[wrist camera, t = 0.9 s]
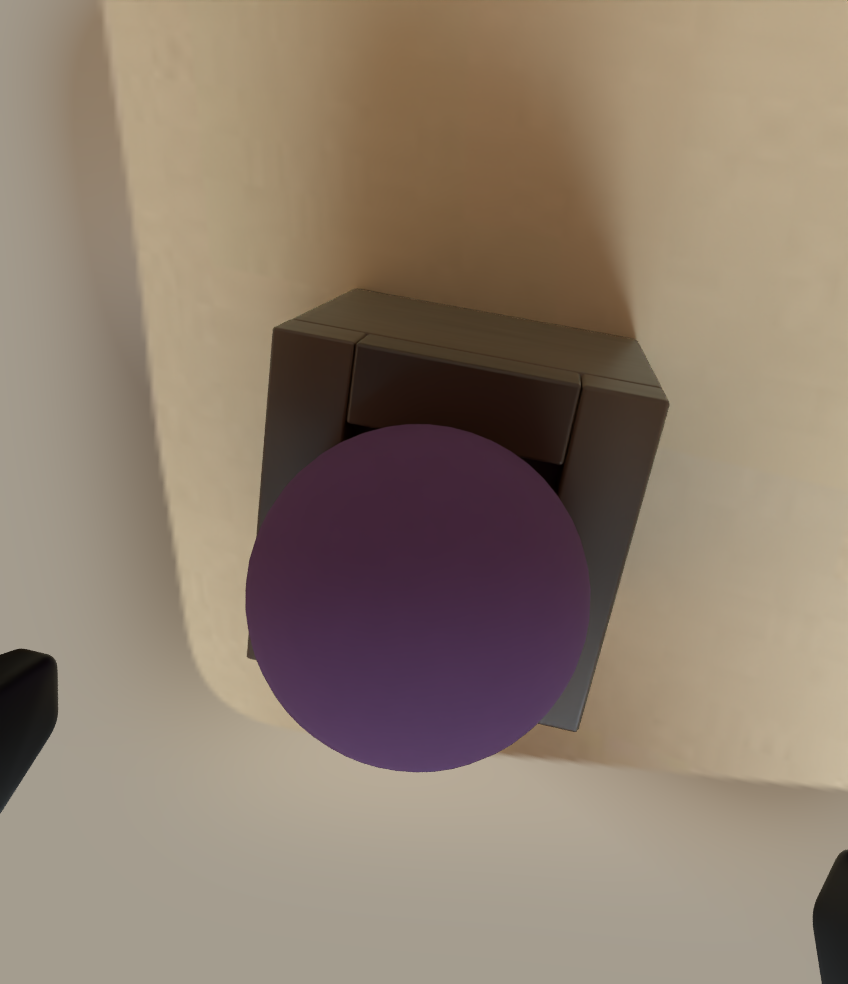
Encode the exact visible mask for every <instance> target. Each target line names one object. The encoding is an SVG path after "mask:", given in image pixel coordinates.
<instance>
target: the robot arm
mask: <svg viewBox="0 0 848 984" xmlns="http://www.w3.org/2000/svg"><path fill="white" fill-rule="evenodd" d="M57 716H58V673H57V663H56V661H55V659H54V658H53V657H52V656H50V655H48V654H44V653H39V652H36V651H31V650H27V649H16V650H13V651H10V652H7V653H4V654H1V655H0V813H1V812H2V810H3V809H4V807H5V806H6V804H7V802H8V801H9V799H10V797H11V796H12V794H13V793H14V791H15V790H16V788H17V787H18V785H19V784H20V782H21V781H22V779H23V777H24V776H25V774H26V773H27V771H28V769H29V768H30V766H31V765H32V763H33V762H34V760H35V759H36V757H37V756H38V754H39V752H40V751H41V749H42V748H43V746H44V744H45V743H46V741H47V740H48V738H49V737H50V735H51V733H52V731H53V729H54V727H55V724H56V721H57ZM813 930H814V936H815V942H816V949H817V955H818V961H819V968H820V975H821V981H822V984H848V850H844V851H842V852H841V853H840V854H839V855H838V857H837V858H836V860H835V862H834V864H833V866H832V868H831V870H830V872H829V875H828V877H827V879H826V881H825V883H824V885H823V887H822V889H821V892H820V893H819V895H818V897H817V899H816V902H815V906H814V910H813Z"/></svg>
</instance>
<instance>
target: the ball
mask: <svg viewBox="0 0 848 984" xmlns="http://www.w3.org/2000/svg"><path fill="white" fill-rule="evenodd" d="M590 591H591V589H590V580H589V572H588V566H587V562H586V558H585V554H584V550H583V546H582V543H581V539H580V537H579V534H578V532H577V530H576V527H575V525H574V523H573V520H572V518H571V517H570V515H569V513H568V512H567V510H566V508H565V507H564V505H563V503H562V502H561V500H560V499H559V497H558V496H557V494H556V493H555V492H554V491H553V489H552V488H551V487H550V486H549V484H548V483H547V482H546V481H545V479H544V478H543V477H542V476H540V475H539V474H538V473H537V472H536V471H535V470H534V469H533V468H532V467H531V466H530V465H529V464H528V463H526V462H525V461H524V460H522V459H521V458H519V457H518V456H517V455H515V454H514V453H513V452H511V451H510V450H508V449H506V448H504V447H502V446H501V445H499V444H497V443H495V442H493V441H491V440H489V439H486V438H484V437H481V436H479V435H476V434H474V433H471V432H467V431H463V430H460V429H456V428H452V427H446V426H438V425H431V424H405V425H397V426H390V427H384V428H380V429H377V430H373V431H369V432H366V433H363V434H360V435H357V436H355V437H353V438H350V439H348V440H345V441H343V442H341V443H339V444H337V445H335V446H334V447H332V448H330V449H329V450H327V451H325V452H324V453H322V454H321V455H320V456H318V457H317V458H316V459H315V460H313V461H312V462H311V463H310V464H308V465H307V466H306V467H305V468H303V469H302V470H301V471H300V472H299V473H298V474H297V475H296V476H295V477H294V478H293V479H292V480H291V481H290V482H289V483H288V484H287V486H286V487H285V488H284V489H283V491H282V492H281V494H280V495H279V497H278V498H277V500H276V501H275V502H274V504H273V505H272V507H271V508H270V510H269V511H268V513H267V515H266V517H265V519H264V521H263V523H262V525H261V527H260V529H259V532H258V535H257V538H256V540H255V544H254V547H253V550H252V553H251V557H250V560H249V566H248V573H247V580H246V616H247V624H248V630H249V635H250V640H251V644H252V647H253V651H254V654H255V657H256V660H257V662H258V665H259V667H260V669H261V672H262V674H263V676H264V677H265V679H266V681H267V683H268V685H269V686H270V688H271V690H272V691H273V693H274V695H275V697H276V698H277V699H278V701H279V702H280V703H281V705H282V706H283V707H284V709H285V710H286V711H287V712H288V713H289V715H290V716H291V717H292V718H293V719H294V720H295V721H296V722H297V723H298V724H299V725H300V726H301V727H302V728H304V729H305V730H306V731H307V732H308V733H310V734H311V735H312V736H313V737H315V738H316V739H318V740H319V741H321V742H322V743H324V744H325V745H327V746H328V747H330V748H331V749H333V750H335V751H337V752H339V753H341V754H343V755H344V756H346V757H349V758H352V759H354V760H356V761H359V762H361V763H364V764H368V765H371V766H375V767H378V768H384V769H390V770H395V771H406V772H435V771H441V770H449V769H454V768H458V767H461V766H465V765H469V764H471V763H474V762H476V761H479V760H481V759H484V758H486V757H489V756H491V755H494V754H496V753H498V752H499V751H501V750H503V749H505V748H506V747H508V746H510V745H512V744H513V743H514V742H516V741H517V740H518V739H520V738H521V737H522V736H523V735H525V734H526V733H527V732H528V731H530V730H531V729H532V728H533V727H534V726H535V725H536V724H537V723H538V722H539V721H540V720H541V719H542V718H543V717H544V716H545V715H546V714H547V713H548V712H549V711H550V709H551V708H552V707H553V705H554V704H555V703H556V701H557V700H558V699H559V697H560V696H561V694H562V693H563V691H564V690H565V688H566V687H567V685H568V683H569V681H570V679H571V677H572V675H573V674H574V672H575V669H576V666H577V664H578V661H579V658H580V655H581V652H582V649H583V646H584V644H585V640H586V635H587V630H588V625H589V615H590Z"/></svg>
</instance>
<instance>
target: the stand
mask: <svg viewBox="0 0 848 984" xmlns="http://www.w3.org/2000/svg"><path fill="white" fill-rule="evenodd" d="M668 409H669V401H668V399H667V397H666V395H665V393H664V391H663V390H662V387H661V385H660V383H659V381H658V379H657V377H656V375H655V374H654V372H653V370H652V368H651V366H650V364H649V362H648V360H647V358H646V356H645V354H644V352H643V350H642V349H641V347H640V345H639V343H638V341H637V340H636V339H631V338H626V337H620V336H615V335H609V334H604V333H598V332H593V331H587V330H581V329H576V328H570V327H565V326H559V325H554V324H548V323H543V322H537V321H532V320H526V319H521V318H515V317H510V316H504V315H499V314H493V313H488V312H482V311H477V310H471V309H465V308H460V307H454V306H449V305H443V304H438V303H432V302H427V301H421V300H416V299H410V298H405V297H399V296H394V295H388V294H383V293H377V292H372V291H366V290H360V289H353V290H351V291H349V292H347V293H345V294H343V295H341V296H339V297H337V298H335V299H333V300H331V301H329V302H327V303H325V304H323V305H320V306H318V307H316V308H314V309H312V310H310V311H308V312H306V313H304V314H302V315H300V316H298V317H296V318H294V319H292V320H289V321H287V322H284V323H282V324H280V325H278V326H276V327H274V329H273V335H272V348H271V360H270V373H269V385H268V398H267V410H266V423H265V436H264V448H263V461H262V473H261V486H260V498H259V511H258V524H257V535H258V532H259V529H260V527H261V525H262V523H263V521H264V519H265V517H266V515H267V513H268V511H269V510H270V508H271V507H272V505H273V504H274V502H275V501H276V500H277V498H278V497H279V495H280V494H281V492H282V491H283V489H284V488H285V487H286V486H287V484H288V483H289V482H290V481H291V480H292V479H293V478H294V477H295V476H296V475H297V474H298V473H299V472H300V471H301V470H302V469H303V468H305V467H306V466H307V465H308V464H310V463H311V462H312V461H313V460H315V459H316V458H317V457H318V456H320V455H321V454H322V453H324V452H325V451H327V450H329V449H330V448H332V447H334V446H335V445H337V444H339V443H341V442H343V441H345V440H348V439H350V438H353V437H355V436H357V435H360V434H363V433H366V432H369V431H373V430H377V429H380V428H384V427H390V426H397V425H405V424H431V425H438V426H446V427H452V428H456V429H460V430H463V431H467V432H471V433H474V434H476V435H479V436H481V437H484V438H486V439H489V440H491V441H493V442H495V443H497V444H499V445H501V446H502V447H504V448H506V449H508V450H510V451H511V452H513V453H514V454H515V455H517V456H518V457H519V458H521V459H522V460H524V461H525V462H526V463H528V464H529V465H530V466H531V467H532V468H533V469H534V470H535V471H536V472H537V473H538V474H539V475H540V476H542V477H543V478H544V479H545V481H546V482H547V483H548V484H549V486H550V487H551V488H552V489H553V491H554V492H555V493H556V494H557V496H558V497H559V499H560V500H561V502H562V503H563V505H564V507H565V508H566V510H567V512H568V513H569V515H570V517H571V518H572V520H573V523H574V525H575V527H576V530H577V532H578V534H579V537H580V539H581V543H582V546H583V550H584V554H585V558H586V562H587V566H588V572H589V580H590V589H591V591H590V615H589V625H588V630H587V635H586V640H585V644H584V646H583V649H582V652H581V655H580V658H579V661H578V664H577V666H576V669H575V672H574V674H573V675H572V677H571V679H570V681H569V683H568V685H567V687H566V688H565V690H564V691H563V693H562V694H561V696H560V697H559V699H558V700H557V701H556V703H555V704H554V705H553V707H552V708H551V709H550V711H549V712H548V713H547V714H546V715H545V716H544V717H543V718H542V719H541V720H540V721H539V722H538V724H542V725H546V726H551V727H555V728H560V729H564V730H568V731H573V732H577V730H578V729H579V726H580V722H581V719H582V715H583V712H584V708H585V704H586V701H587V697H588V694H589V690H590V687H591V683H592V680H593V676H594V672H595V669H596V665H597V662H598V658H599V655H600V651H601V647H602V644H603V640H604V637H605V633H606V630H607V626H608V623H609V619H610V615H611V612H612V608H613V605H614V601H615V598H616V594H617V590H618V587H619V583H620V580H621V576H622V573H623V569H624V566H625V562H626V558H627V555H628V551H629V548H630V544H631V541H632V537H633V533H634V530H635V526H636V523H637V519H638V516H639V512H640V509H641V505H642V501H643V498H644V494H645V491H646V487H647V484H648V480H649V476H650V473H651V469H652V466H653V462H654V459H655V455H656V452H657V448H658V444H659V441H660V437H661V434H662V430H663V427H664V423H665V419H666V416H667V412H668ZM256 538H257V536H256ZM247 657H248V658H250V659H254V660H256V657H255V654H254V651H253V647H252V644H251V640H250V635H249V637H248V649H247Z"/></svg>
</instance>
